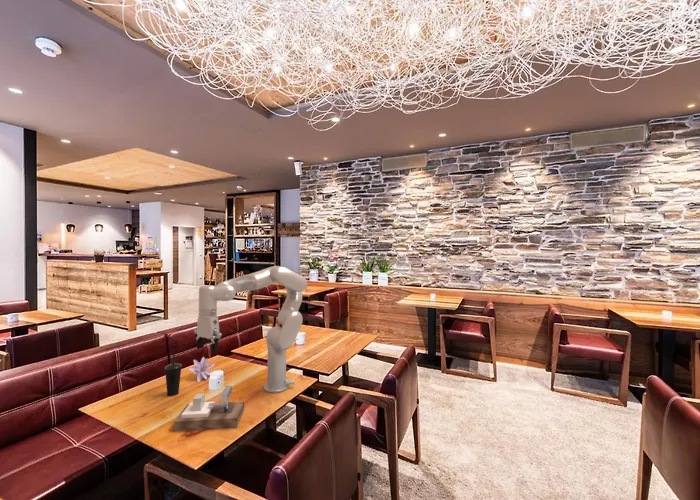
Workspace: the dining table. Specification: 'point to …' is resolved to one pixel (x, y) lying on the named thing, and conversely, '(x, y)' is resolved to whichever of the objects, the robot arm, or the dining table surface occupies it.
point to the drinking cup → (173, 378)
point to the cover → (197, 407)
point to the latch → (223, 399)
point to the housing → (212, 419)
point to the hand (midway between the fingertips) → (207, 349)
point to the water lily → (201, 368)
